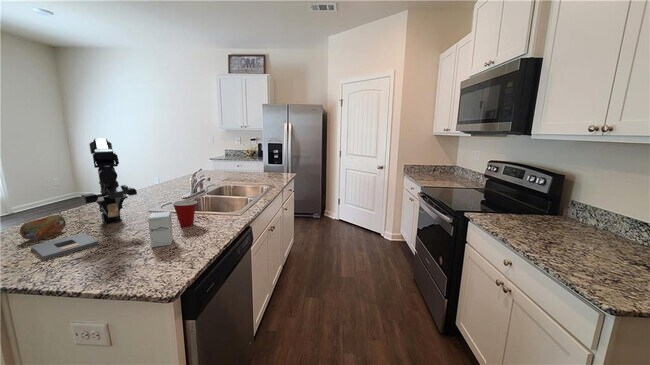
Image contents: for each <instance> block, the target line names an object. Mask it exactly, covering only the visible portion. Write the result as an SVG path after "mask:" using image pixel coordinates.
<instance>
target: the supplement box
mask: <svg viewBox="0 0 650 365" xmlns="http://www.w3.org/2000/svg"><path fill="white" fill-rule="evenodd" d="M147 220H148V229H149V231H148V232H149V240H150V247H151V248H155V247H162V246H163V247H165V246H171V245H172V244H173V238H174V236H173V224H172V212H171V211H162V212H152V213H151V212H150V215H149V216H148V218H147Z"/></svg>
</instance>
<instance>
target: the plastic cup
mask: <svg viewBox="0 0 650 365" xmlns="http://www.w3.org/2000/svg"><path fill="white" fill-rule="evenodd" d="M197 203H198V201H196V200H179V201H173V202H172V205H173V207H174V210H175V214H176V217H177V221H178V223H179V226H180V227H181V228H182V227H184V228H186V227H191V226H194V220H195V214H196V213H195V212H196V211H195V210H196V206H197Z"/></svg>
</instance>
